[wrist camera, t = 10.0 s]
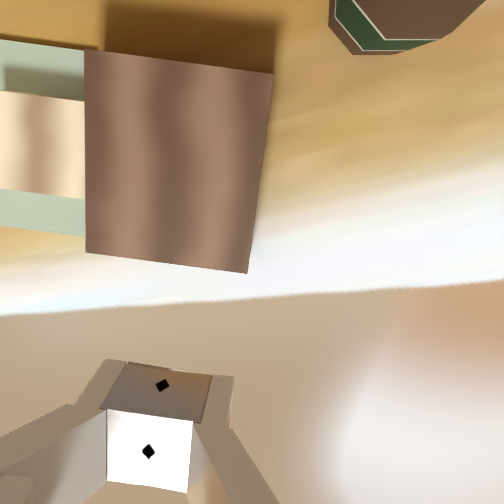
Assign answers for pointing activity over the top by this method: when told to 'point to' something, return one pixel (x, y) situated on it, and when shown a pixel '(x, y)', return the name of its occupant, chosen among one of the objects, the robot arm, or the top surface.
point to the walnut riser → (172, 159)
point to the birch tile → (42, 144)
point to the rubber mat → (52, 84)
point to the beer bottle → (395, 23)
